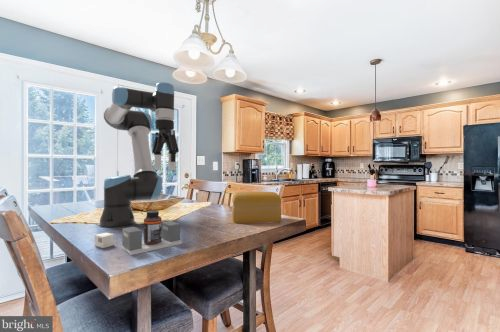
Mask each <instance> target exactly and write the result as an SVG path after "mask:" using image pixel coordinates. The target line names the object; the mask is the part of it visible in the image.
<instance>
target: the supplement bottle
mask: <svg viewBox="0 0 500 332" xmlns="http://www.w3.org/2000/svg"><path fill="white" fill-rule="evenodd" d="M159 212H160V211H159V210H156V209H155V210H154V209H153V210H152V209H151V210H148V211H146V217H145V218H144V219H143V240H144V243H145V244H148V245H154V244H158V243H160V242H161V235H162V234H161V233H162V222H163V220H162V217H161V216H159V215H160V213H159Z"/></svg>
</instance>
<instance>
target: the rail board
mask: <svg viewBox="0 0 500 332" xmlns="http://www.w3.org/2000/svg"><path fill="white" fill-rule="evenodd" d="M161 222H162V233H161V234H162V235H161V242H160V243H158V244H154V245H148V244H145V243H144V239H143V230H142V229H140V228H138V227H136V226H129V227H123V228H122V229H121V230H122V231H121V232H122V234H121V235H122V237H121V238H122V239H121V241H122V242H121V243H122V244H120V248H121V250H123V251H125V252H126V253H127V254H129V255H130V256H133V255H137V254H142V253H146V252H151V251H155V250H160V249H163V248H168V247H174V246H179V245H183V240H181V223H179V222H175V221H173V220H169V221H161Z"/></svg>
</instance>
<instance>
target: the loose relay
mask: <svg viewBox="0 0 500 332" xmlns="http://www.w3.org/2000/svg"><path fill="white" fill-rule="evenodd" d="M94 246H95V247H98V248H101V249H104V248H108V247H112V246H115V233H109V232H102V233H98V234H97V233H96V234H94Z"/></svg>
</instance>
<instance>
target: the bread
mask: <svg viewBox="0 0 500 332" xmlns="http://www.w3.org/2000/svg"><path fill="white" fill-rule="evenodd" d="M231 206H232V207H231V216H232V217H231V218H232V223H233V224H257V223H256V222H275V223H279V222H278V221H282V199H281V197H280V195H279V194H278V193H277V192H274V191H239V192H235V193H234V194H232V205H231Z"/></svg>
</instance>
